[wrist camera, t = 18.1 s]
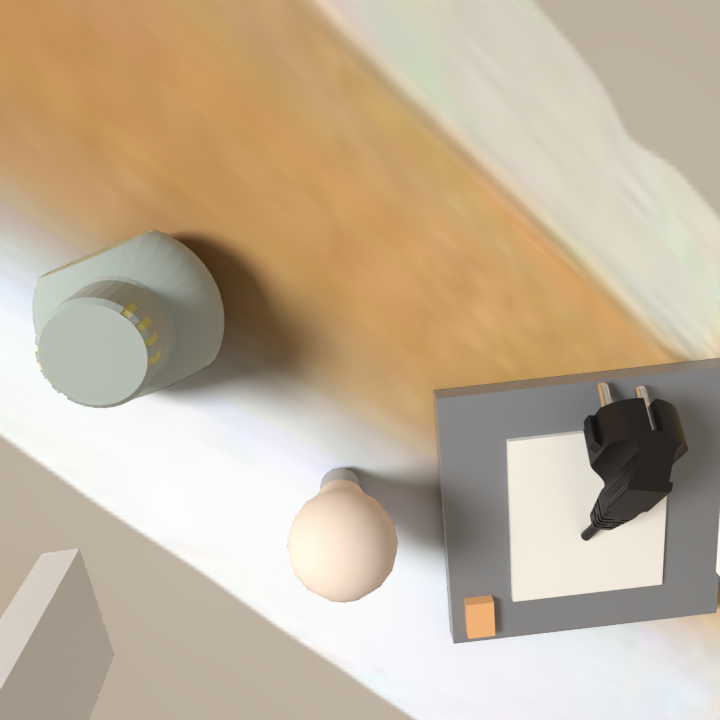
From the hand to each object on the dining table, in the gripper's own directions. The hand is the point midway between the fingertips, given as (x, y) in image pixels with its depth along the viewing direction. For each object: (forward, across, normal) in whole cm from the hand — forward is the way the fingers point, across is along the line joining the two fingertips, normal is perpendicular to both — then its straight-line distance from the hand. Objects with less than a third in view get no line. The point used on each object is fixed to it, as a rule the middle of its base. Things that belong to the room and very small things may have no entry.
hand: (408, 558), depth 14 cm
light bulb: (+31, -3, -16) cm, 34 cm away
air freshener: (+31, -14, -1) cm, 34 cm away
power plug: (+31, +14, -20) cm, 39 cm away
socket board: (+30, +14, -20) cm, 39 cm away
